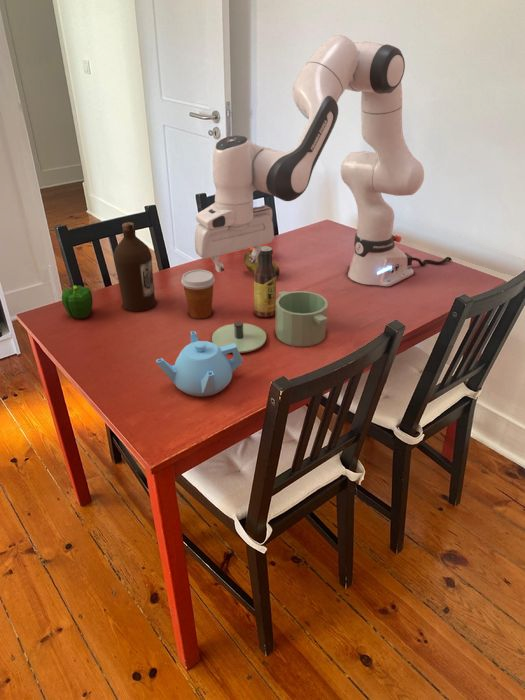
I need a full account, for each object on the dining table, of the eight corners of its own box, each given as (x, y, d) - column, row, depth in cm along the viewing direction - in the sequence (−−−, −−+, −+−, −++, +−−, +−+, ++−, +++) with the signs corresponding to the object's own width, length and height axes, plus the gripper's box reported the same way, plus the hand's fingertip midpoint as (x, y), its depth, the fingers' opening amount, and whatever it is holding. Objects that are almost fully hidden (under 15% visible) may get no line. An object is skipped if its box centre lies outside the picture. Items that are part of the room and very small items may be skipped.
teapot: (212, 410, 117) (209, 369, 111) (157, 391, 123) (152, 351, 117) (246, 374, 128) (245, 336, 123) (194, 358, 134) (191, 321, 129)
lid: (248, 321, 150) (248, 305, 148) (276, 344, 140) (277, 327, 137) (202, 335, 144) (201, 319, 141) (228, 361, 133) (227, 343, 131)
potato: (261, 285, 171) (261, 262, 166) (240, 272, 180) (239, 249, 175) (282, 279, 174) (282, 256, 170) (260, 266, 183) (260, 244, 179)
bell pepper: (69, 309, 157) (62, 278, 152) (97, 307, 158) (91, 277, 153) (62, 322, 150) (55, 291, 145) (92, 321, 151) (85, 289, 146)
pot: (300, 313, 155) (301, 283, 150) (342, 341, 141) (344, 310, 136) (261, 325, 149) (260, 295, 144) (300, 356, 135) (301, 324, 130)
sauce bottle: (271, 320, 151) (271, 254, 141) (251, 316, 153) (249, 251, 142) (278, 310, 156) (279, 246, 146) (259, 306, 158) (258, 243, 148)
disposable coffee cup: (178, 318, 152) (174, 280, 146) (193, 303, 160) (190, 267, 153) (208, 323, 150) (205, 285, 143) (222, 308, 157) (220, 271, 151)
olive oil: (115, 310, 157) (101, 228, 143) (131, 294, 165) (119, 216, 152) (148, 314, 154) (137, 232, 141) (162, 298, 163) (153, 219, 150)
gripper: (265, 200, 130) (265, 253, 138) (189, 215, 121) (194, 271, 129) (279, 207, 126) (278, 261, 133) (201, 223, 117) (206, 280, 124)
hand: (236, 266), depth 131 cm, fingers open, 8 cm apart
